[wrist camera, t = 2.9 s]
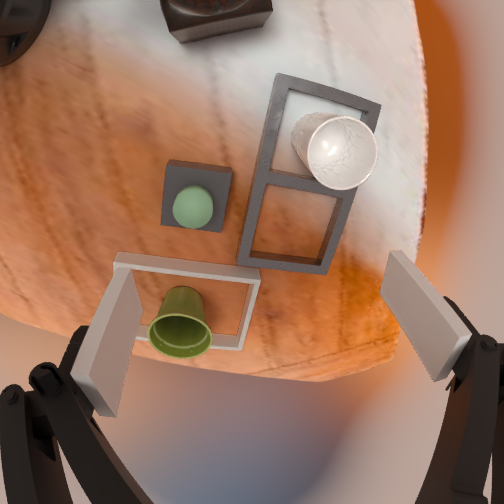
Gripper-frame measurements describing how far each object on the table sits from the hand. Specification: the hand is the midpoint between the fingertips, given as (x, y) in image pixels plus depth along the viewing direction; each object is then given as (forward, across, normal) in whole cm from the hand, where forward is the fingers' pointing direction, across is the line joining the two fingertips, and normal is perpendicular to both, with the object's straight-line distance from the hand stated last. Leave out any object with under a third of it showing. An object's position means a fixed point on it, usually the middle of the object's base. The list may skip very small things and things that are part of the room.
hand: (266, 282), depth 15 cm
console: (+27, -6, -4) cm, 28 cm away
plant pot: (+27, -10, -22) cm, 36 cm away
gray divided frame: (+27, +9, -3) cm, 28 cm away
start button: (+25, -6, -4) cm, 26 cm away
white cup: (+27, +10, +3) cm, 29 cm away
